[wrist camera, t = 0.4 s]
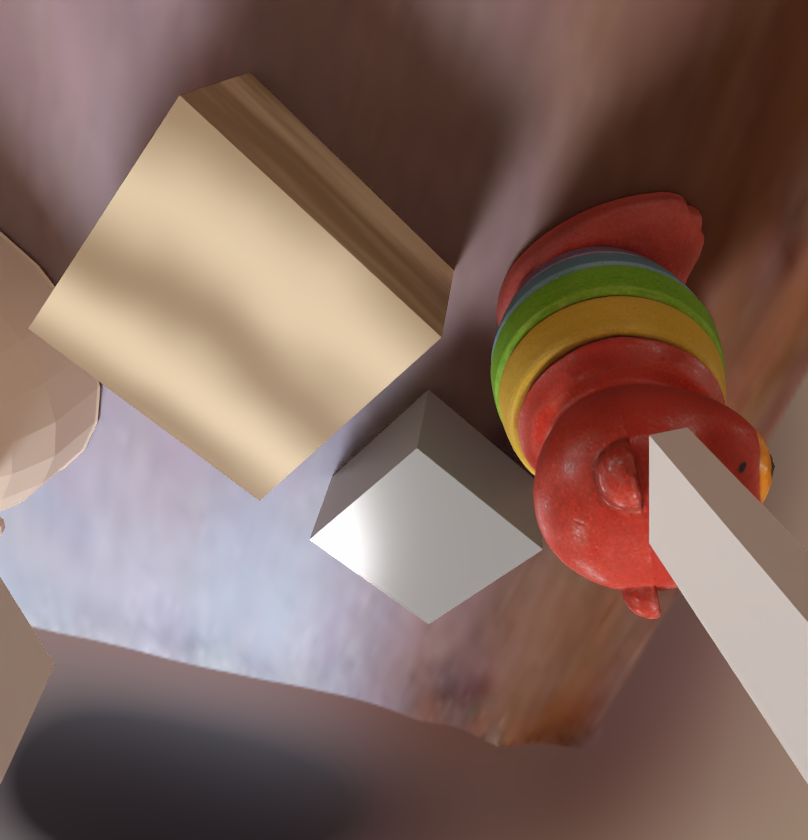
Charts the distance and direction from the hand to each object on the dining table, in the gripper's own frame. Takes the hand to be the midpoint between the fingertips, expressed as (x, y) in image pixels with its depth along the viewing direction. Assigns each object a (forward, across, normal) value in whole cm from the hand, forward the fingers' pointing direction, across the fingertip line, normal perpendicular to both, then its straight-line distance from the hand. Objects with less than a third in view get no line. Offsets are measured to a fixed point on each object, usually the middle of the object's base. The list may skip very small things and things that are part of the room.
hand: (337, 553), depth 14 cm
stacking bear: (+21, +12, -4) cm, 25 cm away
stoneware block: (+24, +3, -15) cm, 28 cm away
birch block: (+25, -3, 0) cm, 25 cm away
